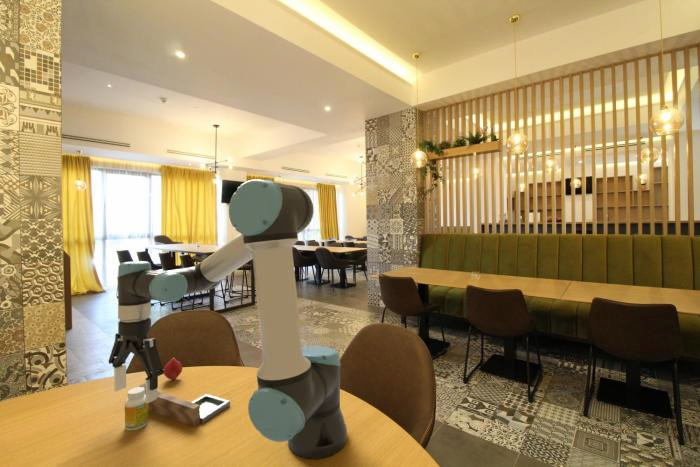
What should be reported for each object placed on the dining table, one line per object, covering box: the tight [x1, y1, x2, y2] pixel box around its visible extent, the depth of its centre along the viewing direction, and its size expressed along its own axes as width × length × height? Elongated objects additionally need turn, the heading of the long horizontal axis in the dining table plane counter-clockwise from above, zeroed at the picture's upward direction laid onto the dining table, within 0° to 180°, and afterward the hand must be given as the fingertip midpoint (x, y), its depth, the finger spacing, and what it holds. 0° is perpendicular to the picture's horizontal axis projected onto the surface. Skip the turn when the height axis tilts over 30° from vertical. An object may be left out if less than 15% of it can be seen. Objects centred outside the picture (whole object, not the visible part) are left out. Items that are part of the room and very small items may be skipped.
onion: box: [163, 357, 183, 381], centre depth 116 cm, size 6×6×8 cm
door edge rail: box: [139, 382, 201, 428], centre depth 94 cm, size 22×3×7 cm, turn 65°
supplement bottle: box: [124, 386, 149, 431], centre depth 90 cm, size 5×5×10 cm
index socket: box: [191, 393, 231, 425], centre depth 97 cm, size 10×10×2 cm
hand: (135, 394), depth 90 cm, fingers open, 13 cm apart
